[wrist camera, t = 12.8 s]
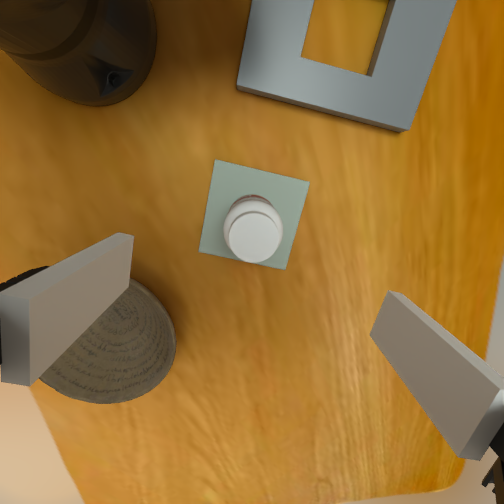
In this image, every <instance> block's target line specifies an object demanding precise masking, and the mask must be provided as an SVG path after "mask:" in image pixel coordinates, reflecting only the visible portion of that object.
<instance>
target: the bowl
mask: <svg viewBox="0 0 504 504" xmlns="http://www.w3.org/2000/svg"><path fill="white" fill-rule="evenodd" d="M175 352H176V334H175V329H174V324H173V322H172V320H171V318H170V316H169V314H168V312H167V311H166V309H165V307H164V306H163V305H162V303H161V302H160V301H159V299H158V298H157V297H156V296H155V295H154V294H153V293H152V292H151V291H150V290H149V289H147V288H146V287H145V286H143V285H142V284H141V283H139V282H138V281H136V280H134V279H132V278H130V279H129V287H128V288H127V289H126V290H125V291H124V292H123V293H122V294H121V295H120V296H119V297H118V298H117V299H116V300H115V301H114V302H113V303H112V304H111V305H110V306H109V307H108V308H107V309H106V310H105V311H104V312H103V313H102V314H101V315H100V316H99V317H98V318H97V319H96V320H95V321H94V322H93V323H92V324H91V325H90V326H89V327H88V328H87V329H86V330H85V331H84V332H83V333H82V334H81V335H80V336H79V337H78V338H77V339H76V340H75V342H74V343H73V344H72V345H71V346H70V347H69V348H68V349H67V350H66V351H65V352H64V353H63V354H62V355H61V356H60V357H59V358H58V359H57V360H56V361H55V362H54V363H53V364H52V365H51V366H50V367H49V368H48V369H47V370H46V371H45V372H44V373H43V374H42V375H41V376H40V377H39V379H40V380H41V381H43V382H44V383H45V384H47V385H49V386H50V387H52V388H54V389H55V390H56V391H58V392H59V393H61V394H63V395H65V396H68V397H70V398H73V399H77V400H82V401H86V402H89V403H96V404H111V403H120V402H125V401H129V400H132V399H135V398H137V397H140V396H142V395H144V394H145V393H147V392H149V391H151V390H152V389H153V388H155V387H156V386H157V385H158V384H159V383H160V382H161V381H162V380H163V379H164V378H165V376H166V375H167V374H168V372H169V370H170V368H171V366H172V364H173V361H174V357H175Z"/></svg>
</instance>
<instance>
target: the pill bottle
mask: <svg viewBox="0 0 504 504" xmlns="http://www.w3.org/2000/svg"><path fill="white" fill-rule="evenodd" d="M223 233H224V238H225V241H226V244H227V245H228V247H229V248H230V250H231V251H232V252H233V253H234V254H235V255H236V256H237V257H238V258H240V259H241V260H243V261H246V262H250V263H257V262H262V261H264V260H266V259H268V258H269V257H271V256H272V255H273V254H274V252H275V251H276V249H277V248H278V246H279V245H280V243H281V240H282V237H283V224H282V220H281V218H280V216H279V214H278V212H277V211H276V210H275V208H274V207H273V205H272V204H271V203H270V202H269V201H268V200H267V199H266V198H264V197H262V196H259V195H254V194H250V195H245V196H242V197H240V198H238V199H237V200H236V201H235V202H234V203H233V204H232V206H231V207H230V210H229V212H228V214H227V216H226V219H225V222H224V227H223Z"/></svg>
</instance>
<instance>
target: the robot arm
mask: <svg viewBox="0 0 504 504" xmlns="http://www.w3.org/2000/svg"><path fill="white" fill-rule="evenodd" d="M156 40H157V33H156V22H155V16H154V12H153V8H152V5H151V2H150V0H0V49H1V50H4V51H5V52H6V53H7V54H8V55H9V56H10V57H11V58H12V59H13V60H14V61H15V62H16V63H17V64H18V65H19V66H20V67H21V68H22V69H23V70H24V71H25V72H26V73H27V74H28V75H29V76H30V77H31V78H33V79H34V80H35V81H36V82H37V83H39V84H40V85H41V86H43V87H44V88H46V89H47V90H49V91H51V92H52V93H54V94H56V95H58V96H60V97H63V98H65V99H68V100H71V101H73V102H76V103H79V104H83V105H89V106H105V105H111V104H114V103H117V102H120V101H122V100H124V99H125V98H127V97H129V96H130V95H131V94H133V93H134V92H135V91H136V90H137V89H138V88H139V87H140V86H141V84H142V83H143V82H144V80H145V79H146V77H147V75H148V73H149V71H150V69H151V66H152V63H153V60H154V56H155V50H156ZM133 242H134V236H133V235H129V234H124V233H119V232H118V233H116V234H114V235H112V236H110V237H108V238H106V239H104V240H102V241H100V242H98V243H96V244H94V245H92V246H90V247H88V248H86V249H84V250H82V251H80V252H78V253H76V254H74V255H72V256H70V257H68V258H66V259H64V260H62V261H60V262H58V263H56V264H54V265H52V266H50V267H49V266H44V267H40V268H36V269H31V270H29V271H26V272H24V273H22V274H20V275H18V276H17V277H14V278H12V279H10V280H7V282H6V283H5V282H3V283H1V284H0V365H1V382H6V383H12V384H19V385H24V386H31V385H32V384H33V383H34V382H35V381H36V380H37V379H38V378H39V377H40V376H41V375H42V374H43V373H44V372H45V371H46V370H47V369H48V368H49V367H50V366H51V365H52V364H53V363H54V362H55V361H56V360H57V359H58V358H59V357H60V356H61V355H62V354H63V353H64V352H65V351H66V350H67V349H68V348H69V347H70V346H71V345H72V344H73V343H74V342H75V340H76V339H77V338H78V337H79V336H80V335H81V334H82V333H83V332H84V331H85V330H86V329H87V328H88V327H89V326H90V325H91V324H92V323H93V322H94V321H95V320H96V319H97V318H98V317H99V316H100V315H101V314H102V313H103V312H104V311H105V310H106V309H107V308H108V307H109V306H110V305H111V304H112V303H113V302H114V301H115V300H116V299H117V298H118V297H119V296H120V295H121V294H122V293H123V292H124V291H125V290H126V289H127V288H128V287H129V279H130V270H131V261H132V251H133ZM370 336H371V338H372V339H373V340H374V342H375V343H376V345H377V346H378V347H379V349H380V350H381V352H382V353H383V354H384V356H385V357H386V358H387V360H388V361H389V363H390V364H391V365H392V367H393V368H394V369H395V371H396V372H397V374H398V375H399V376H400V378H401V379H402V380H403V382H404V383H405V385H406V386H407V387H408V389H409V390H410V392H411V393H412V394H413V396H414V397H415V398H416V400H417V401H418V403H419V404H420V405H421V407H422V408H423V409H424V411H425V412H426V414H427V415H428V416H429V418H430V419H431V420H432V422H433V423H434V425H435V426H436V427H437V429H438V430H439V432H440V433H441V434H442V436H443V437H444V438H445V440H446V441H447V443H448V444H449V445H450V447H451V448H452V449H453V451H454V452H455V454H456V455H457V456H458V457H460V458H466V459H472V460H479V461H480V460H481V458H482V457H483V455H484V454H485V452H486V451H487V449H488V447H489V446H490V447H491V448H492V449H493V451H494V452H495V453H496V454H497V455H498V456H499V457H498V458H497V460H496V461H495V463H494V464H493V466H492V467H491V469H490V470H489V472H488V473H487V475H486V476H485V477H484V479H483V481H482V485H483V486H485V487H486V486H487V485H488V483H494V484H495V487H494V489H493V490H492V492H493V493H495V494H496V503H497V504H504V377H503V376H502V375H500V374H499V373H498V372H497V371H496V370H494V369H493V368H492V367H491V366H489V365H488V364H487V363H486V362H485V361H483V360H482V359H481V358H480V357H479V356H477V355H476V354H475V353H474V352H472V351H471V350H470V349H469V348H468V347H466V346H465V345H464V344H463V343H461V342H460V341H459V340H458V339H457V338H455V337H454V336H453V335H452V334H451V333H449V332H448V331H447V330H446V329H444V328H443V327H442V326H441V325H440V324H438V323H437V322H436V321H435V320H433V319H432V318H431V317H430V316H429V315H427V314H426V313H425V312H424V311H423V310H421V309H420V308H419V307H418V306H416V305H415V304H414V303H413V302H412V301H410V300H409V299H408V298H407V297H405V296H404V295H403V294H402V293H398V292H393V291H389V290H388V292H387V294H386V296H385V299H384V301H383V304H382V306H381V308H380V311H379V313H378V316H377V318H376V320H375V323H374V325H373V328H372V330H371V332H370Z"/></svg>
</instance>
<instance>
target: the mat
mask: <svg viewBox="0 0 504 504" xmlns="http://www.w3.org/2000/svg"><path fill="white" fill-rule="evenodd" d="M309 184H310V182H307V181H303V180H299V179H295V178H291V177H287V176H283V175H278V174H274V173H270V172H266V171H262V170H258V169H253V168H249V167H245V166H241V165H237V164H233V163H229V162H224V161H220V160H216V159H215V163H214V169H213V174H212V180H211V185H210V191H209V196H208V202H207V207H206V213H205V218H204V224H203V229H202V235H201V240H200V246H199V251H198V252H202V253H207V254H212V255H216V256H221V257H226V258H231V259H235V260H240V261H243V260H241V259H240V258H238V257H237V256H236V255H235V254H234V253H233V252H232V251H231V250H230V248H229V247H228V245H227V244H226V241H225V238H224V233H223V227H224V222H225V219H226V216H227V214H228V212H229V210H230V207H231V206H232V204H233V203H234V202H235V201H236V200H237V199H238V198H240V197H242V196H245V195H250V194H254V195H259V196H262V197H264V198H266V199H267V200H268V201H269V202H270V203H271V204H272V205H273V207H274V208H275V210H276V211H277V212H278V214H279V216H280V218H281V220H282V224H283V237H282V240H281V243H280V245H279V246H278V248H277V249H276V251H275V252H274V254H273V255H272V256H271V257H269V258H268V259H266V260H264V261H262V262H257V263H254V264H259V265H264V266H268V267H273V268H278V269H282V270H285V269H286V265H287V262H288V258H289V255H290V251H291V248H292V244H293V241H294V237H295V233H296V230H297V226H298V223H299V219H300V216H301V212H302V209H303V205H304V202H305V198H306V195H307V191H308V188H309ZM245 262H246V261H245ZM249 263H250V262H249Z"/></svg>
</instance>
